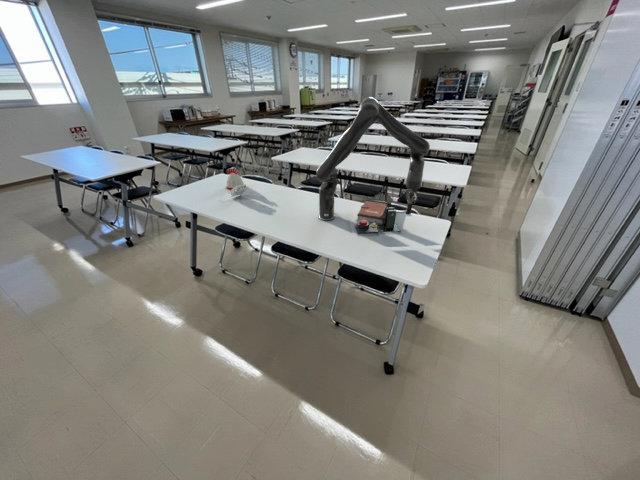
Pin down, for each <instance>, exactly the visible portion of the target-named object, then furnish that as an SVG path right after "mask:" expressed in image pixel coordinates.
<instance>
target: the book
mask: <svg viewBox="0 0 640 480" xmlns="http://www.w3.org/2000/svg"><path fill="white" fill-rule="evenodd" d="M391 207H392V202H391V201H381V200H374V199H366V200H365V201H364V203H363V204H362V205H361V207H360V209H359V211H358V213H357V214H356V216H357V220H358V221H360V220H366V221H367V222H369V223H375V224H384V221H385V214H386V208H391Z"/></svg>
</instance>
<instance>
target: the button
mask: <svg viewBox="0 0 640 480" xmlns="http://www.w3.org/2000/svg"><path fill="white" fill-rule="evenodd" d="M359 221H360V224H361V225H366V224H367V222H368V221H366V220H359Z"/></svg>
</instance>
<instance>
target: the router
mask: <svg viewBox="0 0 640 480" xmlns="http://www.w3.org/2000/svg"><path fill="white" fill-rule="evenodd" d="M247 189H248V187H247V183H246V184H245V183H244V184H243V185H239V186H236V187H235V188H233V189H232V190H229V191H228V194H231V196H230V198H233V197H236V196H240V195H242V194H243V193H244V192H245V191H246V190H247Z"/></svg>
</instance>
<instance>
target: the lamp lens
mask: <svg viewBox="0 0 640 480" xmlns="http://www.w3.org/2000/svg"><path fill="white" fill-rule="evenodd" d="M370 224H371V225H370V227H371V228H377V229H378V224H377V223H375V222H371V223H370Z"/></svg>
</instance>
